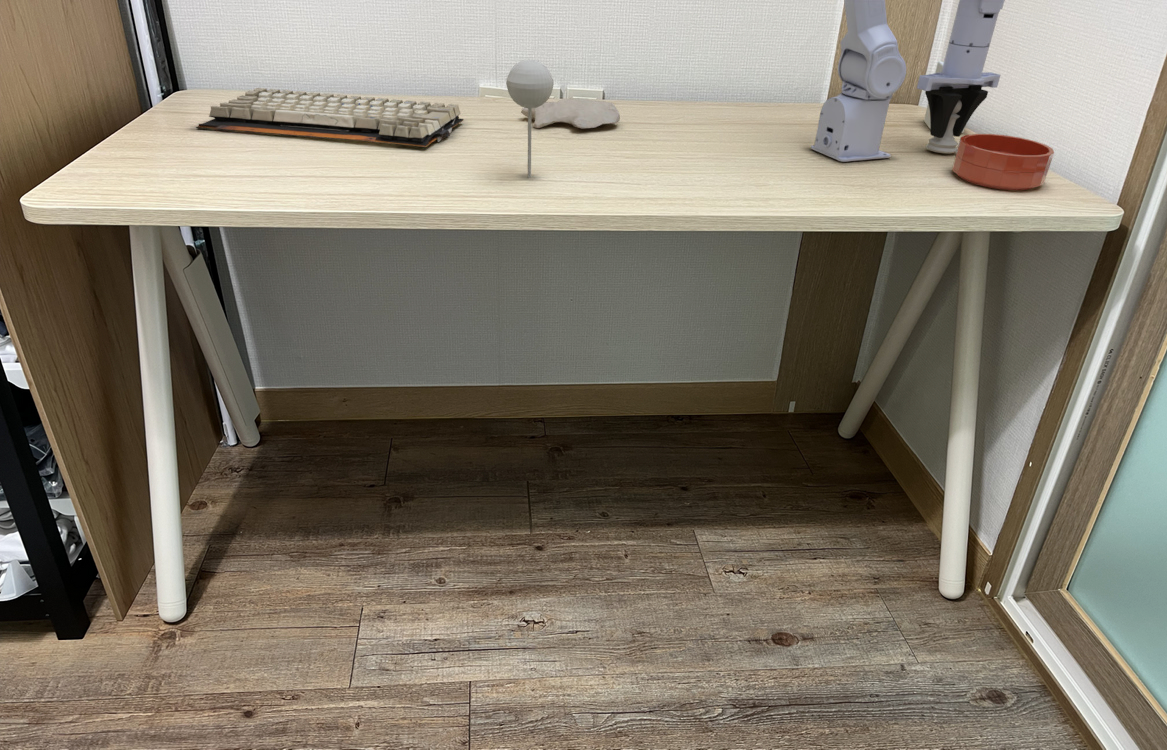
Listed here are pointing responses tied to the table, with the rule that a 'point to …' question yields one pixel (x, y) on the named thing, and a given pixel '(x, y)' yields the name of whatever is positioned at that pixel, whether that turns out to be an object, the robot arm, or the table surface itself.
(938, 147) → the chess piece
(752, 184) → the table surface
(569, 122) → the stone
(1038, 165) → the bowl
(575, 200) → the table surface
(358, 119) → the mechanical keyboard
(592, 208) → the table surface
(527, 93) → the lollipop
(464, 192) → the table surface
